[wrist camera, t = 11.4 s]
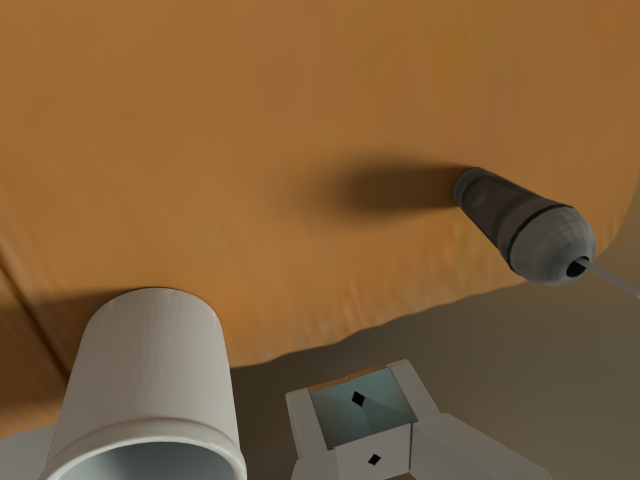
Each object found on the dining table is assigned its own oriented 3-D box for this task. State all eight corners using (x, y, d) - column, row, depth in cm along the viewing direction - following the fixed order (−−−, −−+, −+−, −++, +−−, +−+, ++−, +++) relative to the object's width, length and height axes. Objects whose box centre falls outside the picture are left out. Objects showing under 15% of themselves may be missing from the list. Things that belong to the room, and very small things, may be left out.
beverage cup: (433, 176, 46) (577, 294, 30) (495, 141, 46) (674, 242, 30) (449, 227, 50) (583, 356, 34) (506, 196, 50) (668, 310, 34)
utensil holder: (89, 399, 49) (56, 581, 35) (58, 290, 41) (0, 465, 27) (227, 377, 53) (248, 532, 39) (222, 273, 45) (247, 419, 31)
